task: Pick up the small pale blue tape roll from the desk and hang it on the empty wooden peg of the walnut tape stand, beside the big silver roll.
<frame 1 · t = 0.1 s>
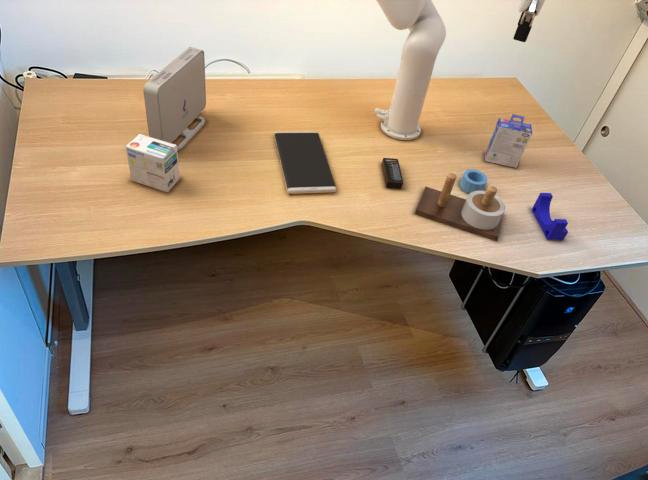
hand: (521, 33, 141), 37 cm above the table, tool pointing down, fingers open, 9 cm apart
ink cartridge box: (500, 160, 167), on the table
cable clip: (546, 225, 148), on the table
tape stand: (458, 214, 146), on the table
tape roll: (471, 186, 155), on the table
multiport hub: (391, 176, 155), on the table
smartphone: (303, 164, 154), on the table
light bulb box: (155, 180, 142), on the table
network device: (179, 132, 157), on the table
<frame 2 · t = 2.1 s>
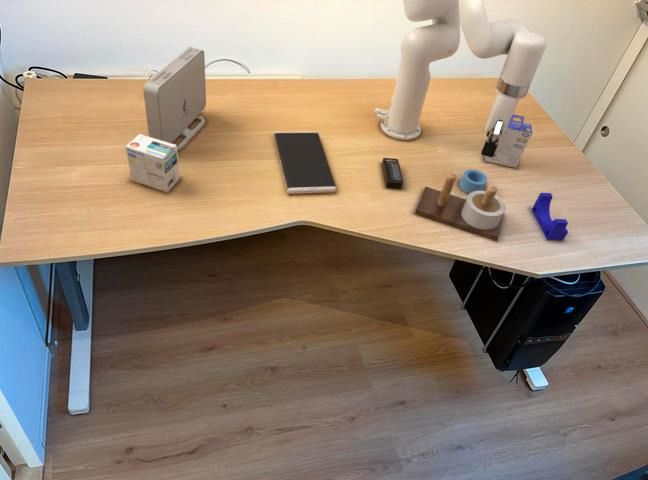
hand: (489, 146, 146), 14 cm above the table, tool pointing down, fingers open, 9 cm apart
nothing on the table moved.
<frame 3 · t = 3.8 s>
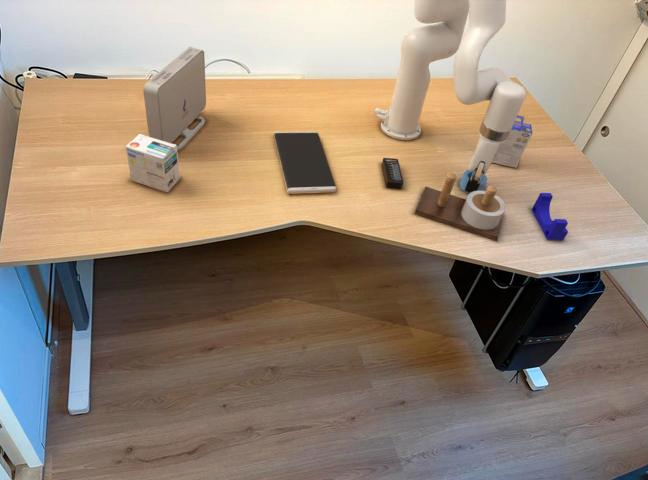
hand: (472, 184, 155), 1 cm above the table, tool pointing down, fingers closed on tape roll, 6 cm apart
tape roll: (471, 186, 155), on the table, touching gripper
everything else where it was.
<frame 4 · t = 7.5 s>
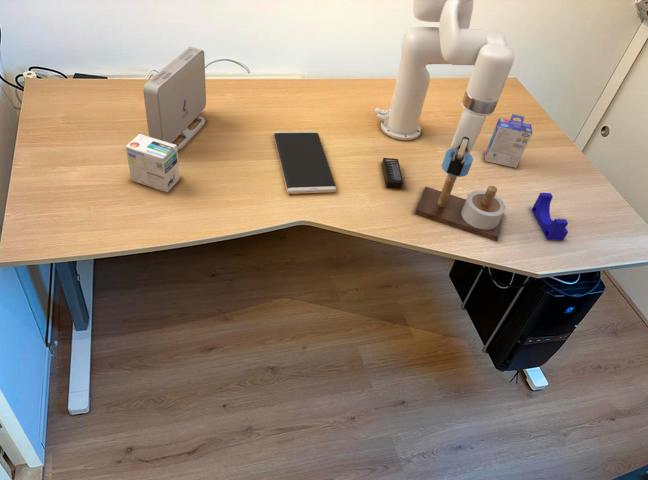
hand: (456, 165, 137), 14 cm above the table, tool pointing down, fingers closed on tape roll, 6 cm apart
tape roll: (455, 168, 137), point 13 cm above the table, touching gripper
everything else where it was.
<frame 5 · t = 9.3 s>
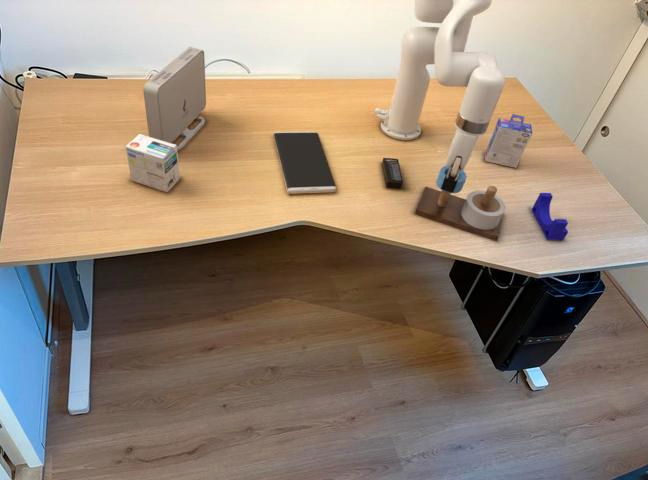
hand: (450, 181, 141), 9 cm above the table, tool pointing down, fingers closed on tape roll, 6 cm apart
tape roll: (449, 184, 141), point 8 cm above the table, touching gripper
everything else where it was.
when the fingers open (5 cm above the table, at t = 11.0 s): tape roll drops 3 cm, resting on tape stand.
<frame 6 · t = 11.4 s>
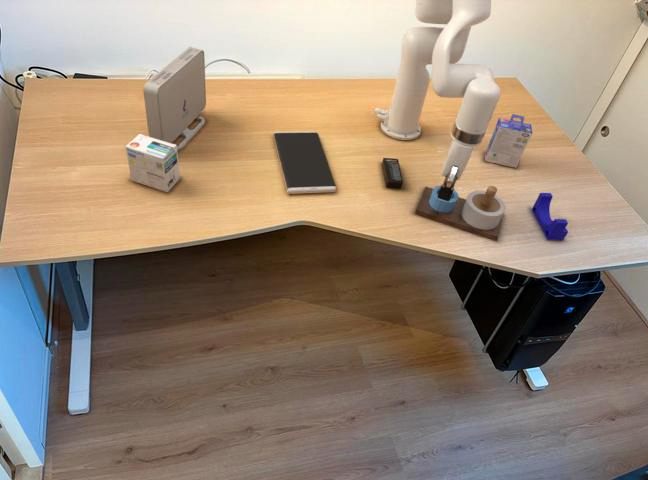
hand: (447, 188, 142), 7 cm above the table, tool pointing down, fingers open, 9 cm apart
tape roll: (441, 204, 146), point 1 cm above the table, touching tape stand
everything else where it was.
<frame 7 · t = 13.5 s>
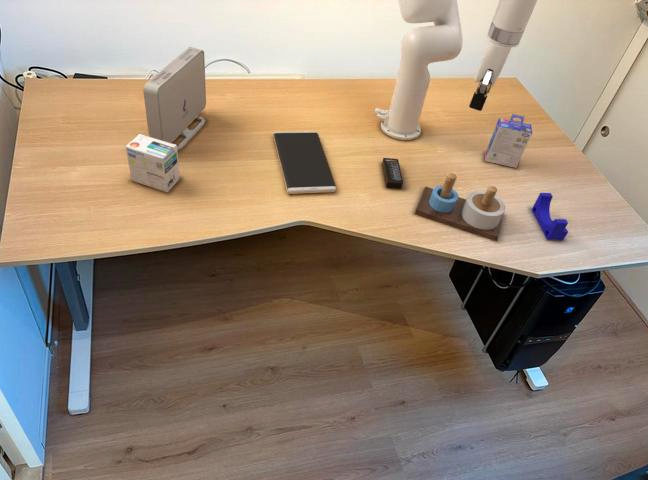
hand: (479, 99, 138), 26 cm above the table, tool pointing down, fingers open, 9 cm apart
nothing on the table moved.
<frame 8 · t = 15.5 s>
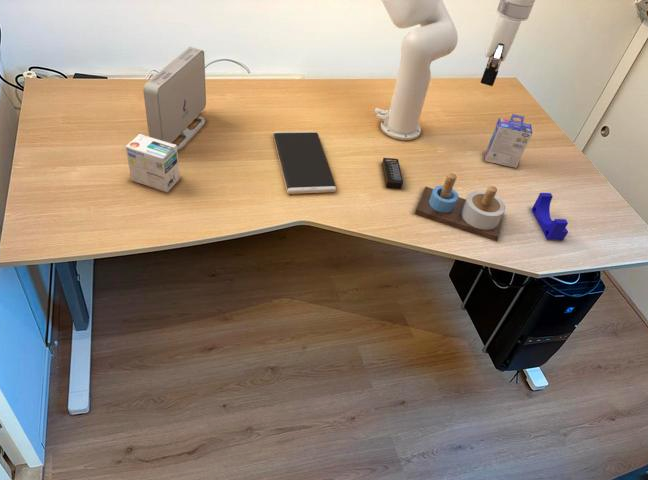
hand: (489, 76, 141), 28 cm above the table, tool pointing down, fingers open, 9 cm apart
nothing on the table moved.
at the end: tape roll 0.0 cm from the target spot on the tape stand, point 1.5 cm above the tape stand's base; tape roll tilted 0°; the gripper is holding nothing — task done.
